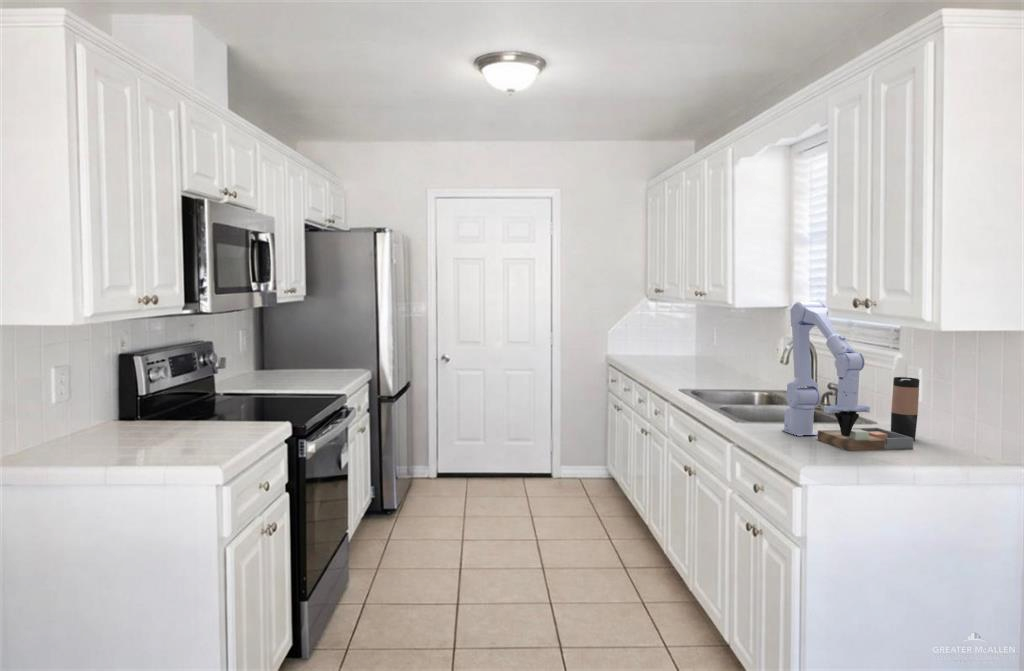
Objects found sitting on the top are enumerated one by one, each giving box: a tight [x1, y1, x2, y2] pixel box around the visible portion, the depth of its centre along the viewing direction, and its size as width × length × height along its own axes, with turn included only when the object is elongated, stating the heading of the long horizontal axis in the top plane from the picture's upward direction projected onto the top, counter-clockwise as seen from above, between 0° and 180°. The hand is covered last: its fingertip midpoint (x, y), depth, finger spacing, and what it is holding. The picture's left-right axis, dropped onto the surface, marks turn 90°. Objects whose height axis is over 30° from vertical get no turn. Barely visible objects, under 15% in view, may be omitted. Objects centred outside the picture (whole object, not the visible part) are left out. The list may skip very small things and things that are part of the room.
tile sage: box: [847, 428, 869, 440], centre depth 226 cm, size 4×4×2 cm
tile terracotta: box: [869, 431, 888, 440], centre depth 236 cm, size 4×4×2 cm
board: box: [817, 429, 885, 452], centre depth 230 cm, size 16×12×3 cm
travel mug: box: [890, 376, 920, 442], centre depth 241 cm, size 8×8×20 cm
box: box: [852, 427, 914, 451], centre depth 233 cm, size 16×10×4 cm, turn 12°
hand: (845, 435), depth 225 cm, fingers closed
